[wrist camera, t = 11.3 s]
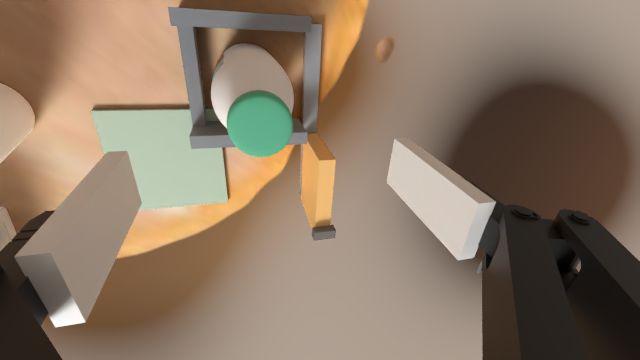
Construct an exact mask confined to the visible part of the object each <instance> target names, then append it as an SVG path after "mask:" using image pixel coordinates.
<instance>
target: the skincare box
mask: <svg viewBox="0 0 640 360" xmlns="http://www.w3.org/2000/svg"><path fill="white" fill-rule="evenodd" d="M16 235H17V233H16V231H15V228H14V226H13V224H12V221H11V219H10V216H9V214H8V211H7V209H6V207H0V251H1V250H2V249H3V248H4V247H5V246H6V245H7V244H8V243H9V242H12V239H13V238H14V237H15V236H16Z"/></svg>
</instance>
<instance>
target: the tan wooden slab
mask: <svg viewBox="0 0 640 360" xmlns="http://www.w3.org/2000/svg"><path fill="white" fill-rule="evenodd" d="M335 165H336V159H335V158H334V156H333V155H332V153H331V152H330V151H329V149H328V148H327V146H326V145H325V144H324V142H323V141H322V139H321V138H320V136H319V135H318V134H317V133H307V144H303V158H302V192H301V201H302V204H303V206H304V209H305V212H306V214H307V217H308V220H309V222H310V225H311V228H312V236H313V239H314V240H322V239H330V238H335V233H336V230H335V228H334V226H333V225H330V220H331V210H332V198H333V188H334V176H335Z"/></svg>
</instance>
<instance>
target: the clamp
mask: <svg viewBox="0 0 640 360" xmlns="http://www.w3.org/2000/svg"><path fill="white" fill-rule="evenodd" d="M168 10H169V16H170V22H171V26H177V28H178V35H179V41H180V48H181V54H182V61H183V67H184V73H185V80H186V86H187V93H188V99H189V106H190V112H191V119H192V125H193V127H192V130H191V133H190V136H189V138H190V145H191V149H202V148H225V147H236V146H235V145H234V144H233V142H232V141H231V139H230V137H229V134H228V131H227V128H226V127H225V126H224V125H223V124H222V123H221V121H220V120H219V121H207V118H206V111H205V109H206V107H205V99H204V91H203V83H202V76H201V68H200V60H199V52H198V45H197V37H196V29H195V27H210V28H230V29H249V30H269V31H289V32H304V52H303V90H302V123H301V121H300V120H299V118H292V119H293V132H292V135H291V138H290V140H289V142H288V143H287V145H293V144H301V166H300V167H301V168H300V195H301V192H302V158H303V144H307V133H317V115H318V97H319V78H320V59H321V40H322V24H311V23H312V16H298V15H283V14H267V13H252V12H236V11H221V10H205V9H190V8H174V7H168Z"/></svg>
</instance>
